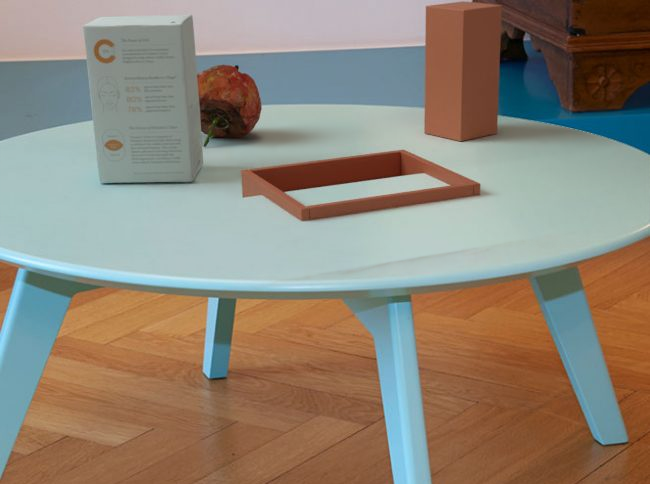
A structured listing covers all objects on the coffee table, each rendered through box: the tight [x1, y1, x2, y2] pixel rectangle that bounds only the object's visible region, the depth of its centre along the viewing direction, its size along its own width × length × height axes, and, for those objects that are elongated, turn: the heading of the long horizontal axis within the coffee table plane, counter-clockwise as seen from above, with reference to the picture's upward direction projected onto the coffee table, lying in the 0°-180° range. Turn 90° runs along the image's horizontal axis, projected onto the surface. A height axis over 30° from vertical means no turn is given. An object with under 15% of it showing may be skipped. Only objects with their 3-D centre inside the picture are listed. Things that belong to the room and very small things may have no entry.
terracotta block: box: [423, 0, 503, 142], centre depth 108 cm, size 5×5×12 cm
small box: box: [82, 14, 204, 184], centre depth 95 cm, size 8×6×13 cm
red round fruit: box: [197, 64, 263, 148], centre depth 108 cm, size 7×7×10 cm
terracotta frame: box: [240, 149, 481, 222], centre depth 86 cm, size 14×12×3 cm
